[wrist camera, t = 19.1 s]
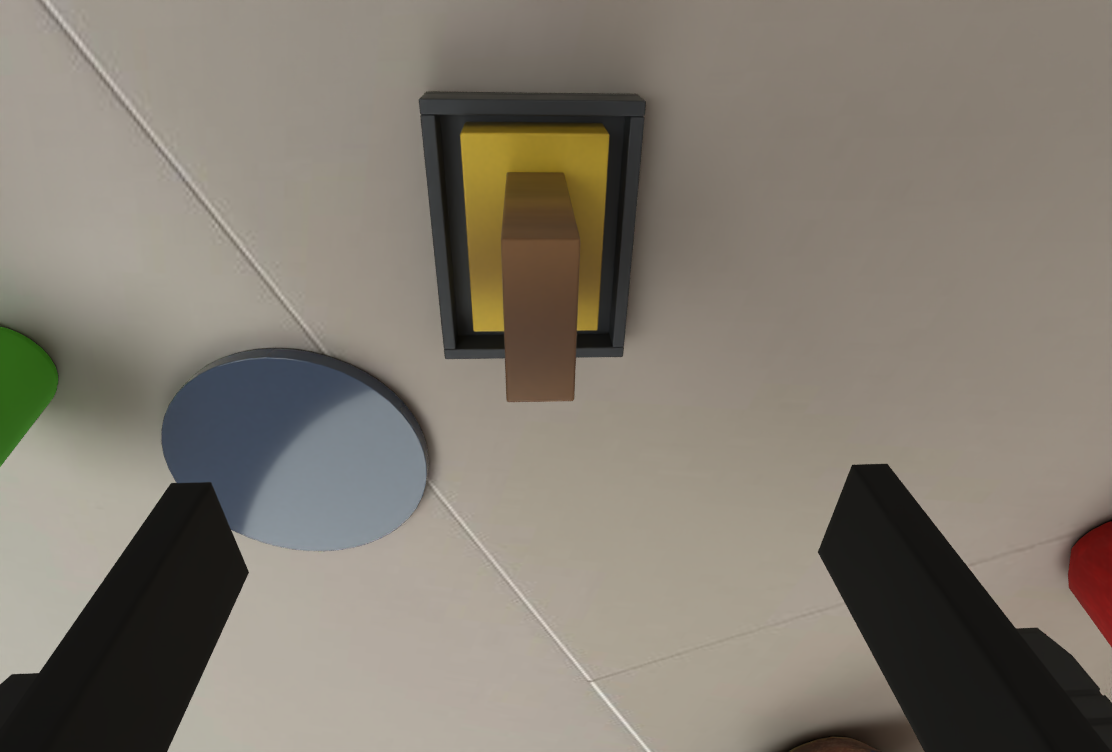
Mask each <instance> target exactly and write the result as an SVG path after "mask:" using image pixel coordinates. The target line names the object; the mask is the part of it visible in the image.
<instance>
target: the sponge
mask: <svg viewBox="0 0 1112 752" xmlns="http://www.w3.org/2000/svg"><path fill="white" fill-rule="evenodd" d="M609 137H610V136H609V133H608V132H607V130H606V129H605V127H604V125H603V124H602V123H554V122H465V124H464V126H463V129H462V131H461V133H460V141H461V156H462V170H463V185H464V199H465V214H466V229H467V243H468V258H469V272H470V287H471V302H472V316H473V330H474V331H475V332H478V331H504V343H505V371H506V398H507V401H508V402H544V401H573V400H574V391H575V366H576V341H577V331H581V330H597V329H598V315H599V299H600V283H601V267H602V250H603V234H604V218H605V202H606V185H607V169H608V153H609Z"/></svg>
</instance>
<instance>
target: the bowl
mask: <svg viewBox="0 0 1112 752" xmlns="http://www.w3.org/2000/svg"><path fill="white" fill-rule="evenodd" d="M789 752H881V751H879V750H877V749H875V748H873V747H871V746H869V745H867V744H865V743H863V742H860V741H857V740H854V739H852V738H848V737H828V738H822V739H817V740H815V741H812V742H809V743H806V744H803V745H801V746H798V747H796V748H794V749H792V750H791V751H789Z"/></svg>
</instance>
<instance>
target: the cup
mask: <svg viewBox="0 0 1112 752" xmlns="http://www.w3.org/2000/svg"><path fill="white" fill-rule="evenodd" d="M57 385H58V373H57V370H56V366H55V365H54V363H53V361H52V360H51V358H50V357H49V355H48V354H47V353H46V352H45V351H44V350H43V349H42V348H41V347H40V346H39V345H37V344H36V343H35V342H33V341H32V340H31V339H29V338H27V337H25V336H24V335H22V334H20V333H18V332H16V331H13V330H10V329H8V328H5V327H0V467H1V465H2V464H3V463H4V461H5V460H6V459H7V457H8V456H9V455H10V454H11V452H12V451H13V450H14V448H15V447H16V446H17V444H18V443H19V442H20V441H21V439H22V438H23V437H24V435H25V434H26V433H27V431H28V430H29V429H30V428H31V426H32V425H33V424H34V422H35V421H36V420H37V418H38V417H39V416H40V414H41V413H42V412H43V411H44V409H45V408H46V407H47V405H48V404H49V403H50V401H51V400H52V399H53V397H54V395H55V393H56V390H57Z"/></svg>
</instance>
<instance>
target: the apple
mask: <svg viewBox="0 0 1112 752" xmlns="http://www.w3.org/2000/svg"><path fill="white" fill-rule="evenodd" d="M1068 581H1069V588H1070V590H1071V591H1072V593H1073V594H1074V595H1075V597H1076V598H1077V600H1078V601H1079V602H1080V604H1081V605H1082V607H1083V608H1084V609H1085V611H1086V612H1087V613H1088V615H1089V616H1090V618H1091V619H1092V620H1093V622H1094V623H1095V625H1096V626H1097V627H1098V629H1099V630H1100V632H1101V633H1102V634H1103V636H1104V637H1105V639H1106V640H1107V641H1108V643H1109V644H1110V646H1111V647H1112V521H1111V522H1107V523H1105V524H1103V525H1101V526H1099V527H1097V528H1095V529H1093V530H1091V531H1090V532H1088V533H1087V534H1086V535H1084V536H1083V537H1082V538H1081V539H1079V540H1078V542H1077V543H1076V544H1075V545H1074V546H1073V547H1072V549H1071V556H1070V564H1069V571H1068Z"/></svg>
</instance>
